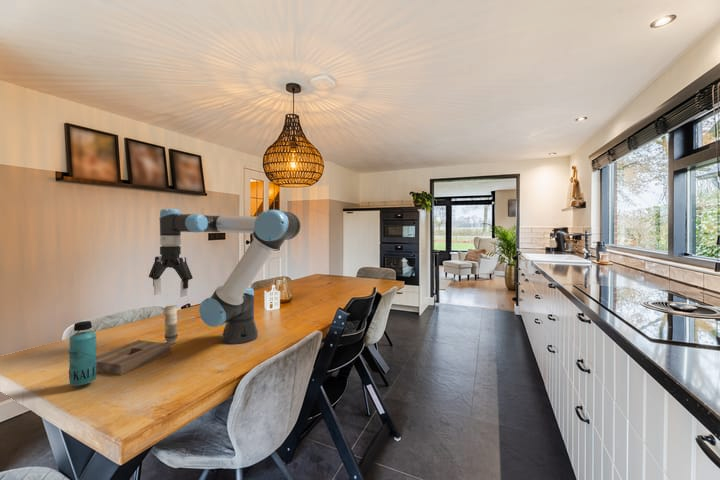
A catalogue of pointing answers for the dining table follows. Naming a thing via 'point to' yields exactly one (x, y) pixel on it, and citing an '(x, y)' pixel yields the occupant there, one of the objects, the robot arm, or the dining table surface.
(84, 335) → the beverage bottle
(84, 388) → the dining table surface
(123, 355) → the board
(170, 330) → the peg
